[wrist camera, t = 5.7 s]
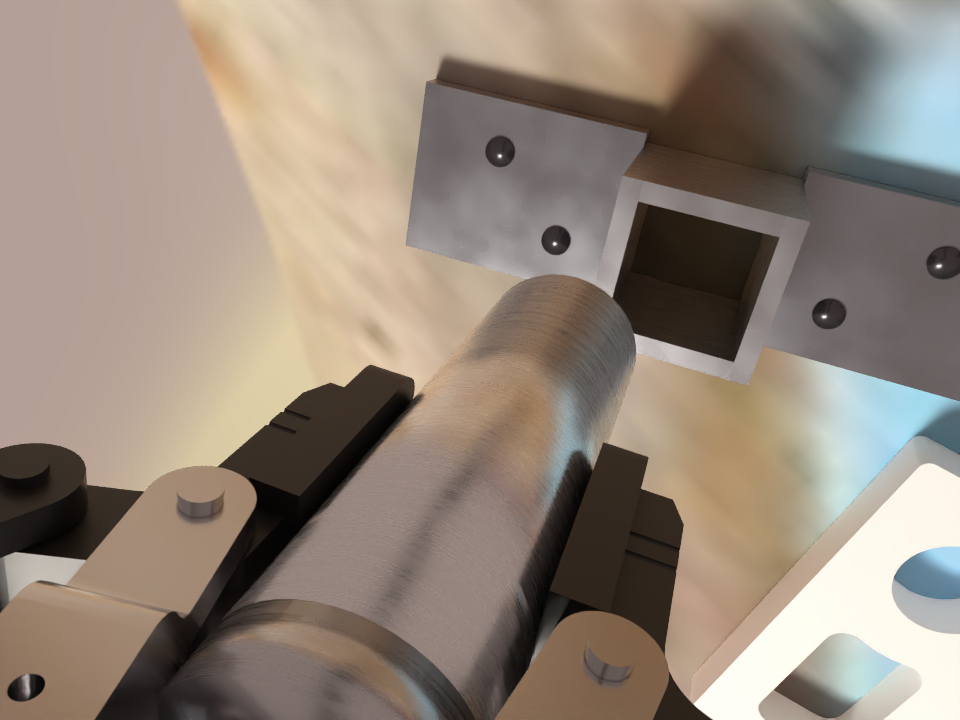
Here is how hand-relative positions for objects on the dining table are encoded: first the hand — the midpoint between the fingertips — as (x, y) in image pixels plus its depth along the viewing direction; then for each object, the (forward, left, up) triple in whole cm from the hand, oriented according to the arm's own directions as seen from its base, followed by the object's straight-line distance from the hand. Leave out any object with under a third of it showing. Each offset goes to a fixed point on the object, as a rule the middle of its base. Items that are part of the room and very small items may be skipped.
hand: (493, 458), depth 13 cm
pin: (0, 0, -5) cm, 5 cm away
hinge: (+2, +2, -22) cm, 22 cm away
